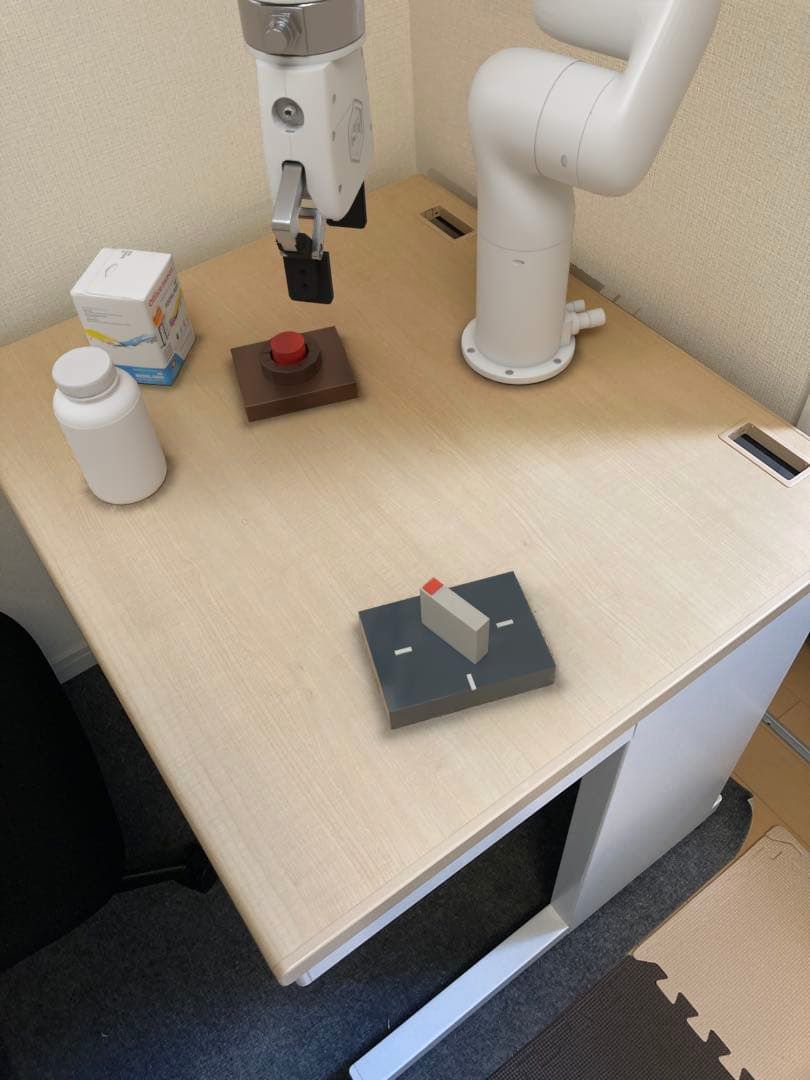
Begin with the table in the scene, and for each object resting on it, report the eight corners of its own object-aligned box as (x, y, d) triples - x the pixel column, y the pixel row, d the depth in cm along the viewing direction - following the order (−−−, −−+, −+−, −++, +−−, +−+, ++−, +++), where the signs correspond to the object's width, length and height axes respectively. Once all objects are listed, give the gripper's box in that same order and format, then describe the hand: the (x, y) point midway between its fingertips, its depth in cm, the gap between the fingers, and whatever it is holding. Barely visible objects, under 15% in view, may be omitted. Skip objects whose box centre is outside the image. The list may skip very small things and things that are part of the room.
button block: (336, 340, 104) (333, 312, 101) (358, 397, 98) (354, 369, 95) (233, 363, 103) (226, 335, 100) (248, 422, 97) (241, 394, 93)
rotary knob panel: (511, 589, 82) (513, 568, 79) (553, 685, 75) (557, 665, 73) (360, 629, 80) (357, 609, 77) (391, 731, 74) (389, 712, 71)
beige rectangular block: (488, 652, 74) (489, 616, 70) (475, 665, 73) (476, 629, 69) (434, 611, 77) (433, 574, 73) (421, 622, 76) (419, 586, 72)
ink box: (172, 387, 101) (143, 300, 91) (101, 380, 102) (66, 293, 93) (198, 337, 106) (173, 250, 97) (130, 331, 107) (99, 244, 98)
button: (302, 340, 99) (300, 328, 98) (309, 361, 97) (307, 348, 95) (270, 348, 98) (267, 335, 97) (276, 369, 96) (273, 356, 95)
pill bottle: (99, 518, 89) (44, 405, 77) (83, 464, 94) (29, 350, 82) (177, 491, 91) (135, 377, 79) (158, 439, 96) (116, 325, 84)
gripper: (323, 82, 49) (349, 339, 62) (395, -37, 59) (404, 204, 73) (192, 74, 50) (245, 327, 63) (285, -41, 61) (314, 196, 74)
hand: (330, 261), depth 68 cm, fingers open, 9 cm apart
